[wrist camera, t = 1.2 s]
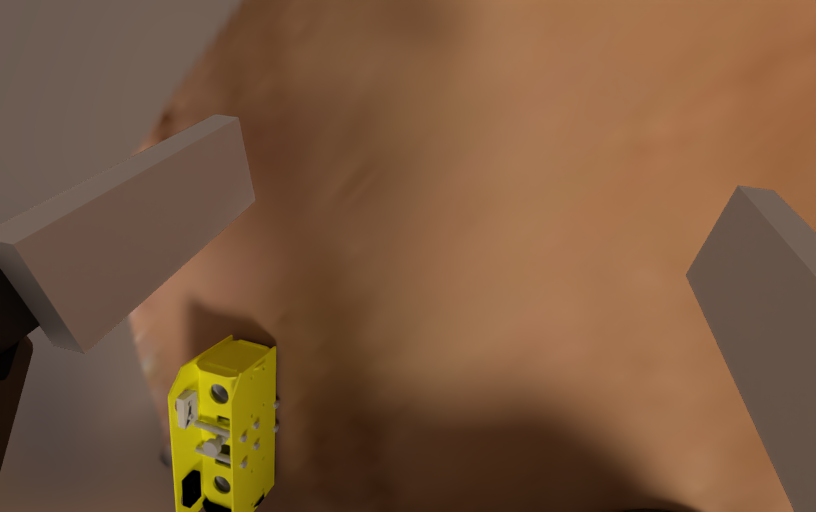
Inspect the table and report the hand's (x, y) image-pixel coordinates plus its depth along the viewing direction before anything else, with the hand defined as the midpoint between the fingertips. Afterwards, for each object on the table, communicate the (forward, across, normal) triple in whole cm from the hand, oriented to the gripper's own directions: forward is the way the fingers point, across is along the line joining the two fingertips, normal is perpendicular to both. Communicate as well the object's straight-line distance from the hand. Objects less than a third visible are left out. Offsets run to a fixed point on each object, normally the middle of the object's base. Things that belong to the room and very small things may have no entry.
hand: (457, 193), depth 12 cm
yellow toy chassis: (+10, +18, +33) cm, 39 cm away
